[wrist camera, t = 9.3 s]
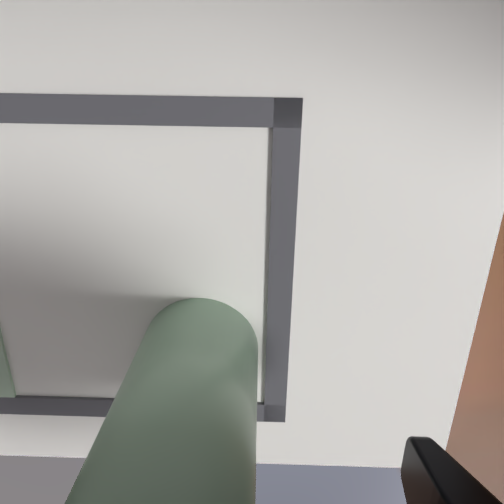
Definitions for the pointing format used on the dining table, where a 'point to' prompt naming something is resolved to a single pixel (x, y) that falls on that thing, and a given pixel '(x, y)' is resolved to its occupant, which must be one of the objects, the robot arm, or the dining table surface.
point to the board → (249, 207)
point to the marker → (181, 415)
